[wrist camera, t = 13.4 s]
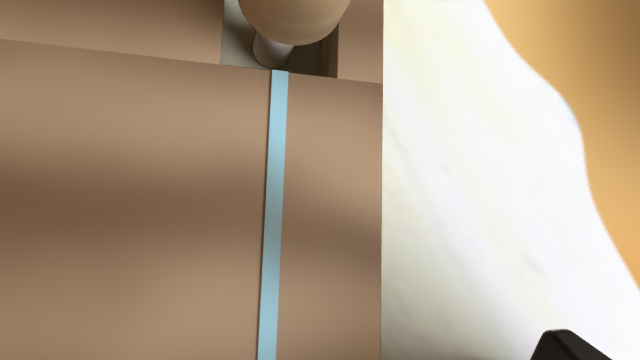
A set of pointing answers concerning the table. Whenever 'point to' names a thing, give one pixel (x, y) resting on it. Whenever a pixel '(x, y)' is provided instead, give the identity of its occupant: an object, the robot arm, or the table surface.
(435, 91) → the table surface
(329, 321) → the subfloor panel
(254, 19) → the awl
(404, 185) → the table surface
